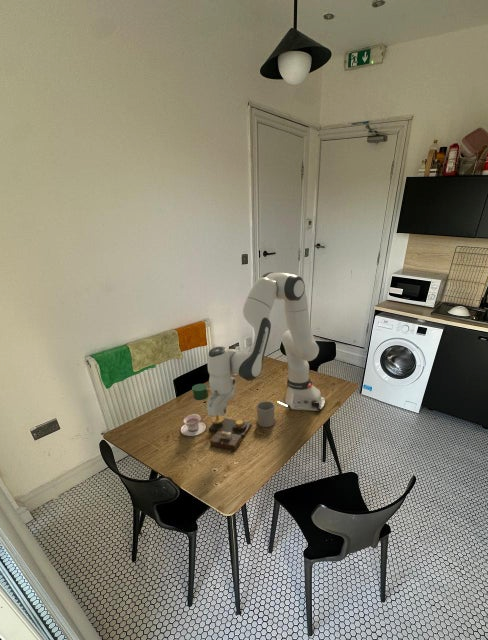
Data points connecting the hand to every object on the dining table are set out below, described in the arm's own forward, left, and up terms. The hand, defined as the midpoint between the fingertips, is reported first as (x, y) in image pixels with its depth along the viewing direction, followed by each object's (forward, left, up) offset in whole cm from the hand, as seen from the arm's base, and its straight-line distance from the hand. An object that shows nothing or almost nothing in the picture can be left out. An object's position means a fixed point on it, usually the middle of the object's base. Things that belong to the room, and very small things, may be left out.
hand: (223, 413), depth 140 cm
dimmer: (0, 0, -16) cm, 16 cm away
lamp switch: (-2, -11, -13) cm, 17 cm away
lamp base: (+3, -11, -16) cm, 19 cm away
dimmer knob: (0, 0, -13) cm, 13 cm away
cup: (-12, -21, -16) cm, 29 cm away
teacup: (+20, -5, -16) cm, 26 cm away
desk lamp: (+13, -11, -12) cm, 21 cm away
